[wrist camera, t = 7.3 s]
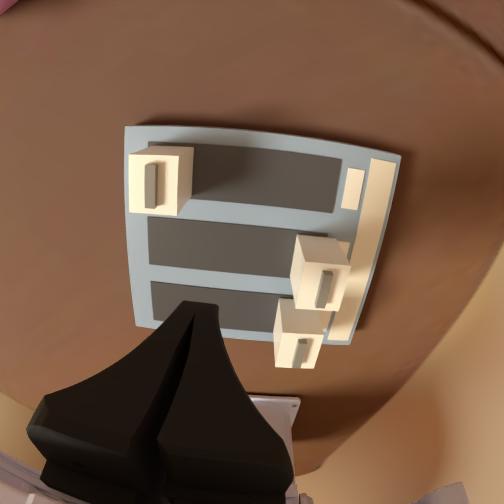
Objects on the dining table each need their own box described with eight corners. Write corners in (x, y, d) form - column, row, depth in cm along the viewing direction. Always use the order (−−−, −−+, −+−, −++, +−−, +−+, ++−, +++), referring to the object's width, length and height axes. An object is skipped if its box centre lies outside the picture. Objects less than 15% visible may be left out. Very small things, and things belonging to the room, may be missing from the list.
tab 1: (191, 195, 17) (174, 218, 14) (151, 193, 17) (126, 215, 14) (194, 147, 16) (176, 157, 13) (152, 145, 16) (125, 155, 13)
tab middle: (326, 279, 20) (340, 315, 16) (289, 275, 19) (296, 313, 16) (335, 238, 18) (353, 269, 15) (296, 234, 18) (306, 265, 15)
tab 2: (306, 333, 21) (314, 373, 18) (273, 331, 21) (275, 371, 18) (315, 300, 20) (325, 339, 17) (279, 298, 20) (283, 337, 17)
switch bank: (345, 332, 23) (349, 345, 22) (141, 314, 23) (135, 326, 22) (391, 152, 18) (402, 156, 16) (134, 124, 17) (124, 126, 16)
